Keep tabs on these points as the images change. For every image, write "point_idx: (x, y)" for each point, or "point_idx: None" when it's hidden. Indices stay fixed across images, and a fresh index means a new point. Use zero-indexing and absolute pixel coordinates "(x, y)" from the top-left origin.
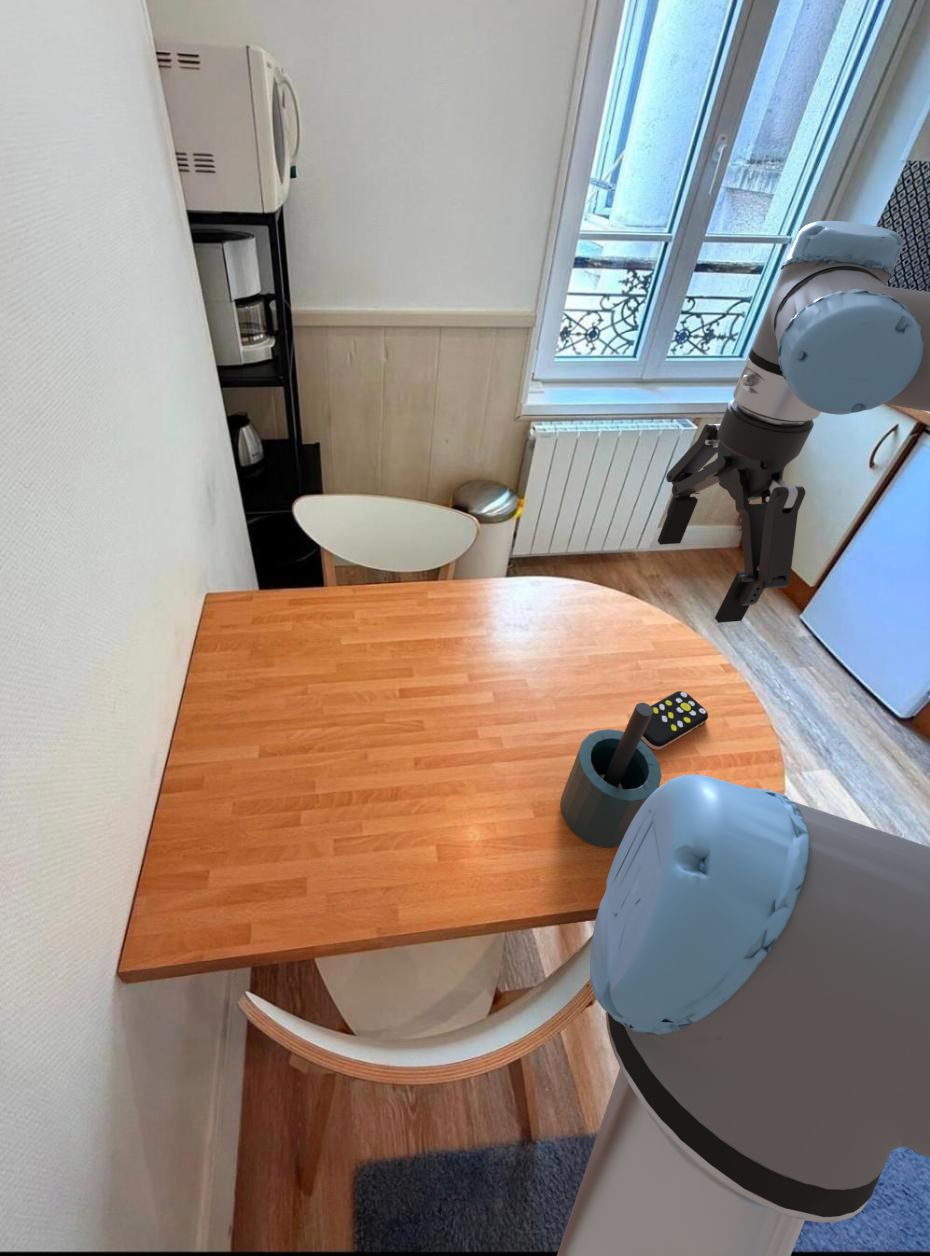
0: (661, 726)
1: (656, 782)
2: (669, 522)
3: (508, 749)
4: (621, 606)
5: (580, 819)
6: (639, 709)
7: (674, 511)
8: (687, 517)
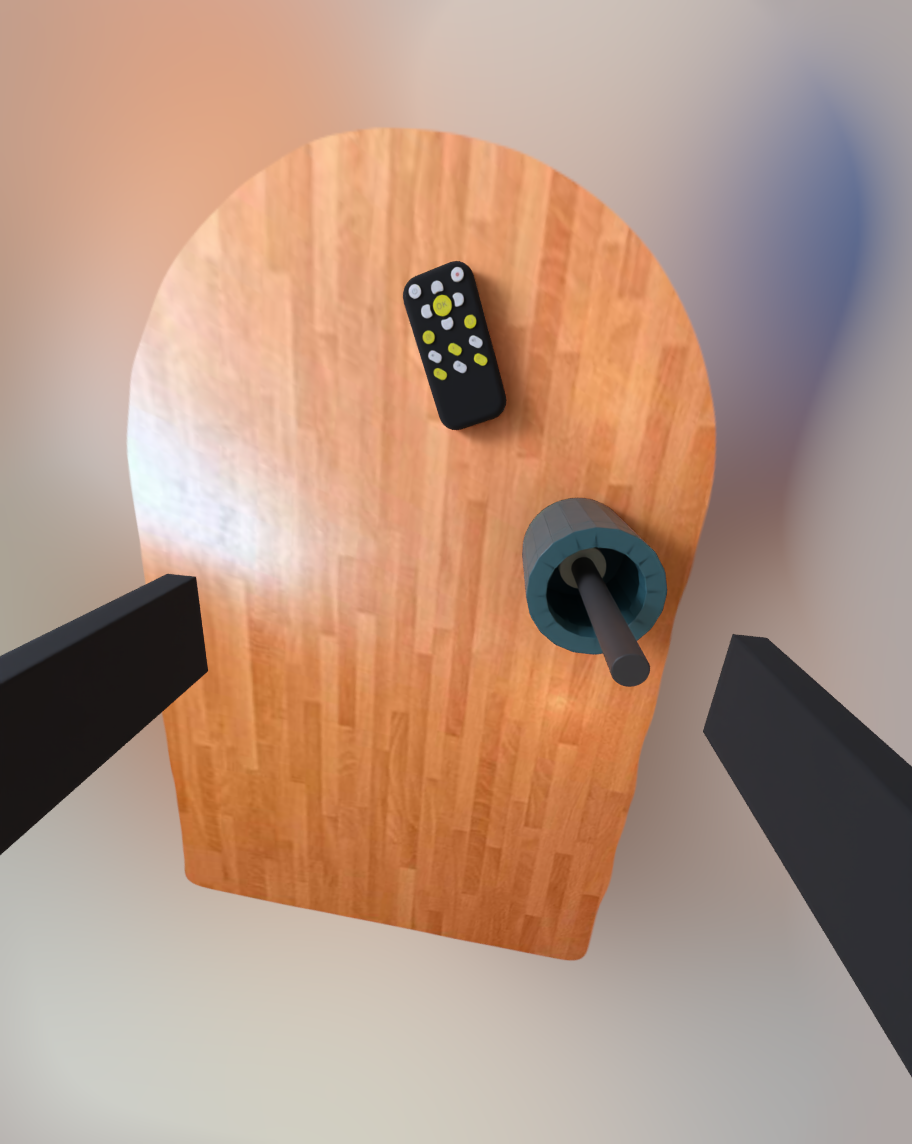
0: (473, 381)
1: (648, 553)
2: (105, 756)
3: (456, 625)
4: (168, 285)
5: None
6: (628, 681)
7: (25, 820)
8: (53, 682)
